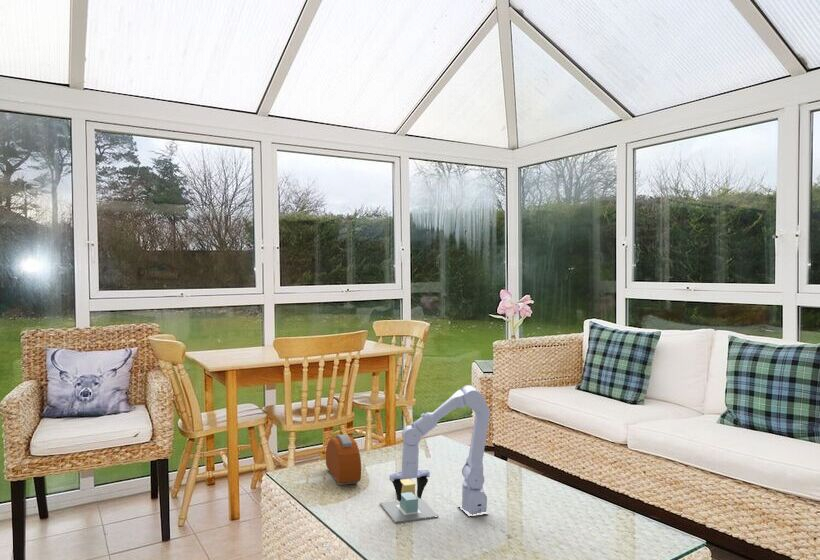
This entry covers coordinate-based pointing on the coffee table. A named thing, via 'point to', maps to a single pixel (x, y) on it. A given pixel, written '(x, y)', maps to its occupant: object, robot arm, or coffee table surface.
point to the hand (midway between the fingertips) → (409, 498)
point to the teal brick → (409, 502)
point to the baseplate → (400, 516)
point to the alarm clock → (343, 459)
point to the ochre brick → (407, 486)
